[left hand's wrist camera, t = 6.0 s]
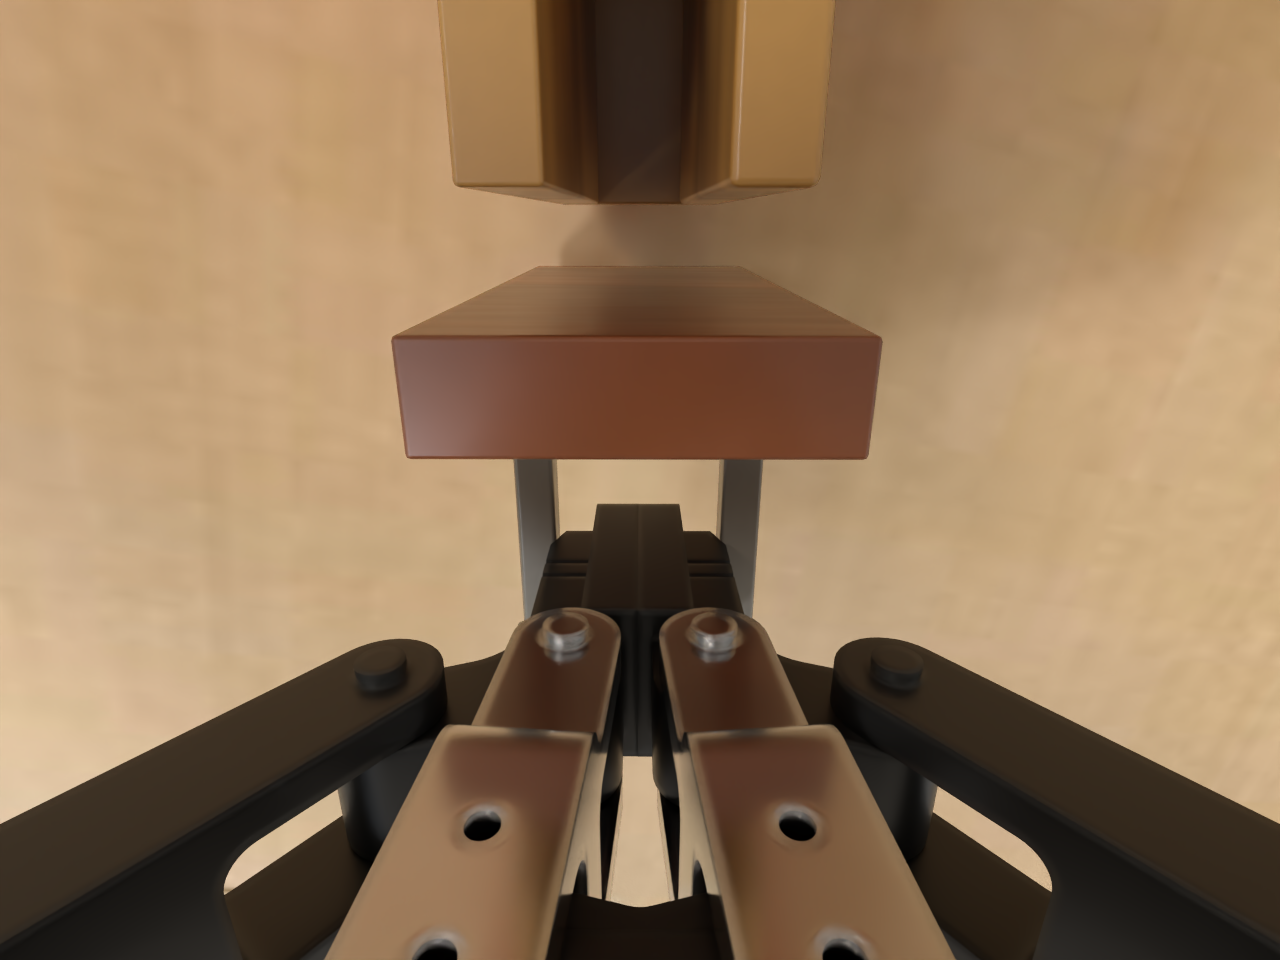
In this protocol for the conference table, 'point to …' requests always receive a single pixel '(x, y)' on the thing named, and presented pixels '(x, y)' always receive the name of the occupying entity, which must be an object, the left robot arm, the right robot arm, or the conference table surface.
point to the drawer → (637, 295)
